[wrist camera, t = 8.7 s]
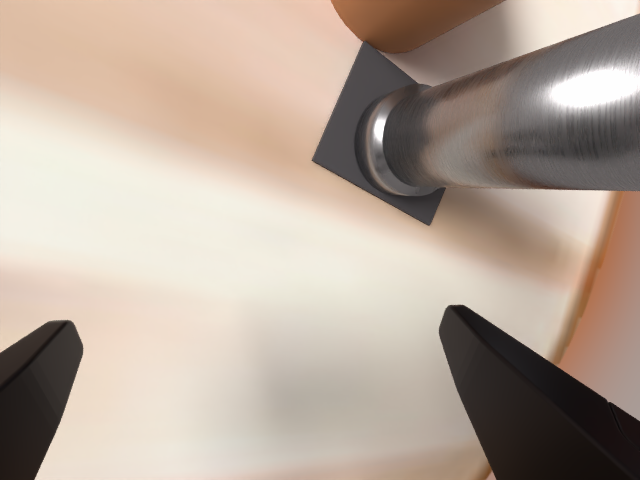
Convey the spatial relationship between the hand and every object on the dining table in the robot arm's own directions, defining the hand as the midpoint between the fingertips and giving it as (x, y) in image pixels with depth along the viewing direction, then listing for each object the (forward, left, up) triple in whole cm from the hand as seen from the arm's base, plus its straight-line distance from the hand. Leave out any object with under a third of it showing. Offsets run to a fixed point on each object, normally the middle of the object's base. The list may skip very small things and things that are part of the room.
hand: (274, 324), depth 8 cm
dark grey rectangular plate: (+10, -7, -10) cm, 15 cm away
